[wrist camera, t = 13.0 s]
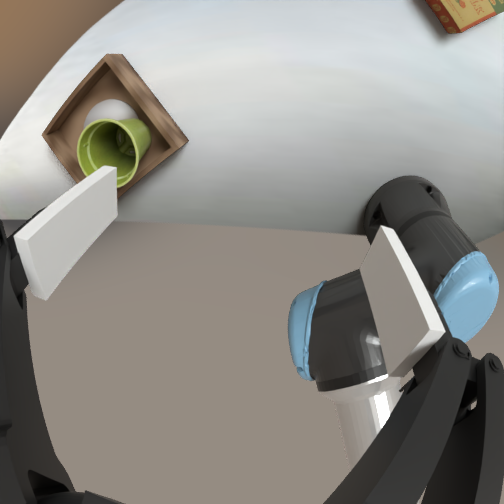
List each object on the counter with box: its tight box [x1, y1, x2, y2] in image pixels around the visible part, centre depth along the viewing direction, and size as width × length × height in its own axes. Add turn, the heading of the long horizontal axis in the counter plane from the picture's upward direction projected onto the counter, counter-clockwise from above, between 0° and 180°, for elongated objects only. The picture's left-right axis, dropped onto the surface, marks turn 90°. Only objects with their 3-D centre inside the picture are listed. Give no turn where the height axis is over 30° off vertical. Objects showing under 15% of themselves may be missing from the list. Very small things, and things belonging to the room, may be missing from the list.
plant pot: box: [77, 118, 152, 188], centre depth 34 cm, size 9×9×9 cm
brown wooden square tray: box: [42, 54, 189, 199], centre depth 37 cm, size 18×18×4 cm
